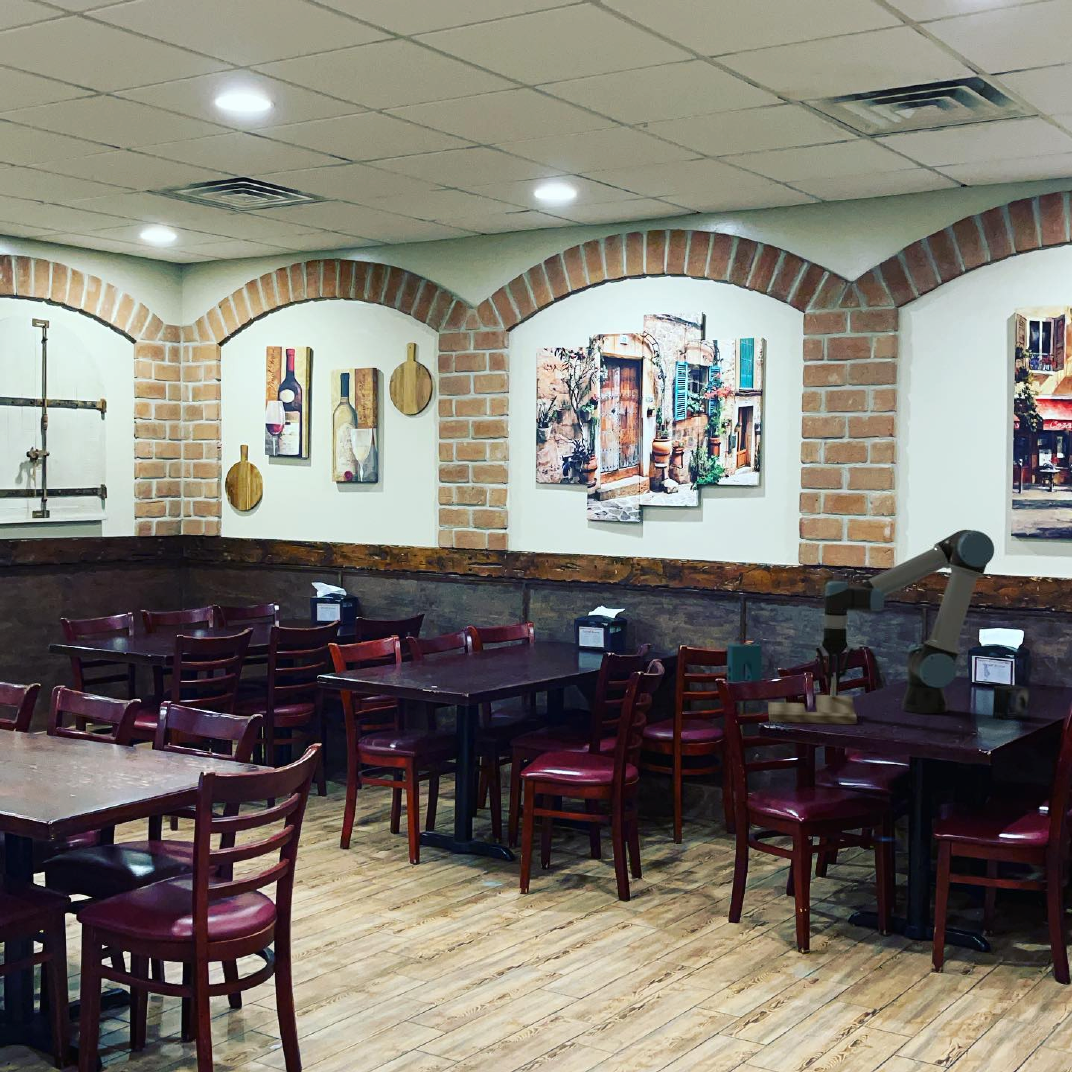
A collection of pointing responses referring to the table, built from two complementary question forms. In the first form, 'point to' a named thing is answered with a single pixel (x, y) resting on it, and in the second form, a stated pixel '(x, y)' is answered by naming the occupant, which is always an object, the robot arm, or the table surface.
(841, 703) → the plank near
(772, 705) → the plank far
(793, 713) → the laid floor
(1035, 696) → the table surface
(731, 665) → the block
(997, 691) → the small box
